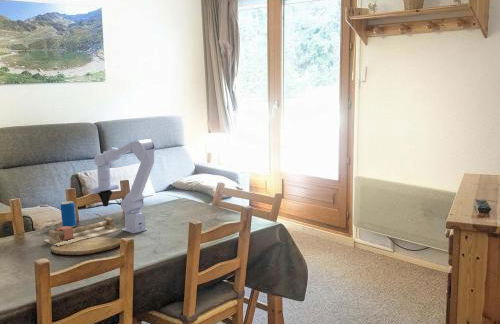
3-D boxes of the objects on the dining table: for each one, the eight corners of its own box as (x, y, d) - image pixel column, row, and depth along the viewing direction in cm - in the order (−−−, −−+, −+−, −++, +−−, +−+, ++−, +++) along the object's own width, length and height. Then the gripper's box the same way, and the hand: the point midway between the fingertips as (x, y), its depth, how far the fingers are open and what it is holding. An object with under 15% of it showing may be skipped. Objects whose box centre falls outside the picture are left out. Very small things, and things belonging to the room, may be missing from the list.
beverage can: (74, 228, 236) (72, 203, 234) (60, 228, 236) (58, 204, 234) (78, 224, 243) (76, 200, 241) (65, 225, 242) (62, 201, 241)
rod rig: (104, 226, 239) (104, 215, 239) (119, 230, 232) (118, 220, 231) (44, 241, 216) (43, 229, 216) (58, 246, 209) (57, 234, 208)
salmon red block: (65, 234, 222) (64, 225, 221) (73, 237, 218) (72, 227, 217) (57, 237, 219) (56, 227, 218) (64, 239, 215) (64, 229, 214)
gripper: (112, 175, 245) (113, 202, 247) (86, 179, 234) (87, 207, 236) (120, 176, 240) (122, 204, 242) (94, 181, 229) (95, 209, 231)
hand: (105, 206), depth 239 cm, fingers closed
